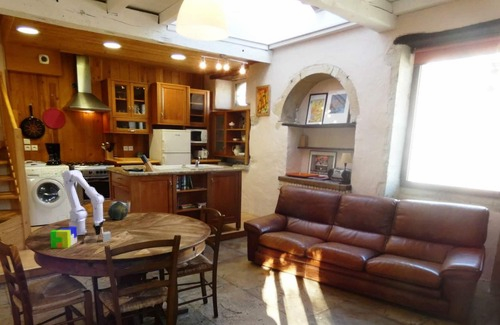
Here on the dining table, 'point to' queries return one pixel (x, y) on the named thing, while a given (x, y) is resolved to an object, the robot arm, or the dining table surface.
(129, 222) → the dining table surface
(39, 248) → the dining table surface
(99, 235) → the peach block
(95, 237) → the wood slab
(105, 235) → the light grey block
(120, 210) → the squash
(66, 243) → the puzzle toy
